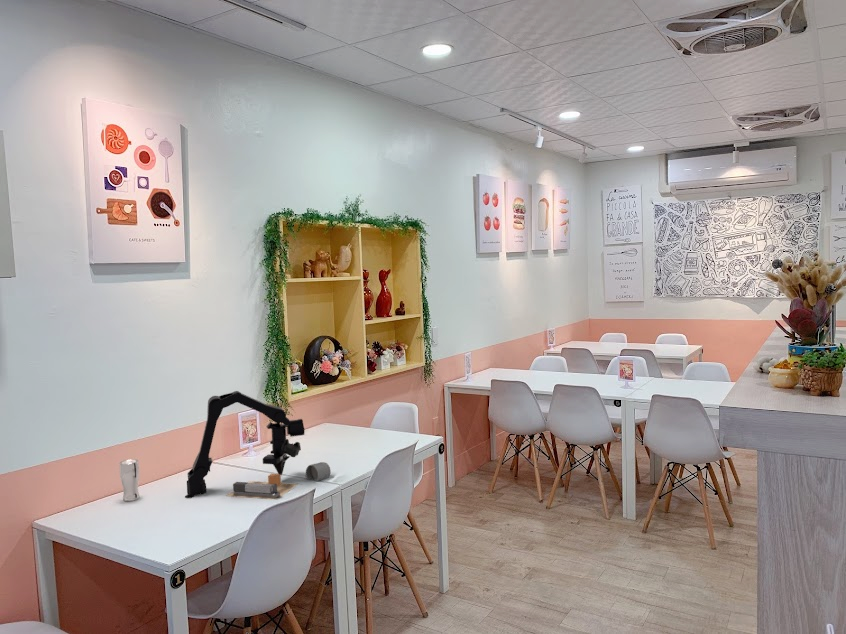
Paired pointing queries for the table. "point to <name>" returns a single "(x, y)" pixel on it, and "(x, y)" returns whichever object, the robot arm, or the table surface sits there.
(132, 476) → the beer glass
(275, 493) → the tongs lower
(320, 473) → the ceramic mug
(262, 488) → the tongs upper
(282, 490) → the serving board
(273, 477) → the tan rectangular block
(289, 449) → the robot arm
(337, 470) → the table surface
